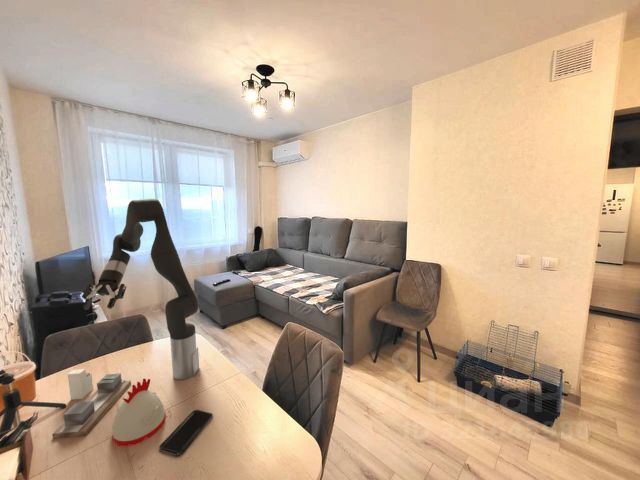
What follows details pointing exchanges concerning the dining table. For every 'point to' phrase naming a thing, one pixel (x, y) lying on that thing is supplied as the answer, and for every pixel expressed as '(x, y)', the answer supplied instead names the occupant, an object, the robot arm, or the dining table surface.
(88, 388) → the block
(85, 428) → the rail plate
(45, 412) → the dining table surface
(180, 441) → the phone
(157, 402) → the kitchen timer
